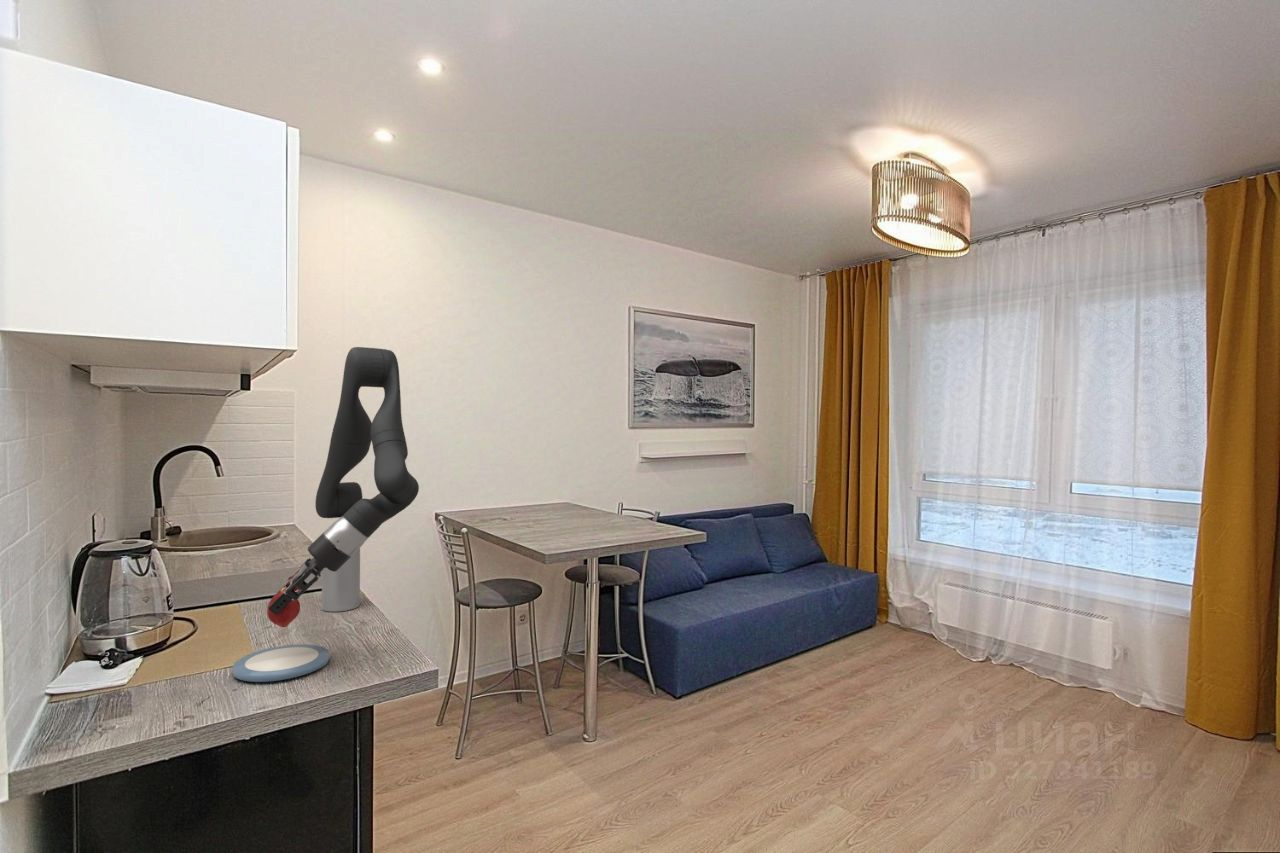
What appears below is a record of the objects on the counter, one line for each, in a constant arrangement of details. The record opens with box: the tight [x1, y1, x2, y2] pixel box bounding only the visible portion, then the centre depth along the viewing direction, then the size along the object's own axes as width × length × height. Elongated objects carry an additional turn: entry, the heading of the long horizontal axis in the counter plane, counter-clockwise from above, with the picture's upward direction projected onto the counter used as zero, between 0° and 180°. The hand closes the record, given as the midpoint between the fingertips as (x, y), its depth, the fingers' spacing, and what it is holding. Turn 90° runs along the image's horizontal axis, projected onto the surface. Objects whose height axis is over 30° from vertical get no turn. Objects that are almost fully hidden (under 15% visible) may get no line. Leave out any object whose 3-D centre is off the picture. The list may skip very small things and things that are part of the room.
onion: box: [266, 587, 301, 628], centre depth 130 cm, size 6×6×8 cm
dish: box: [232, 643, 330, 683], centre depth 130 cm, size 17×17×2 cm
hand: (273, 607), depth 129 cm, fingers closed on onion, 5 cm apart
